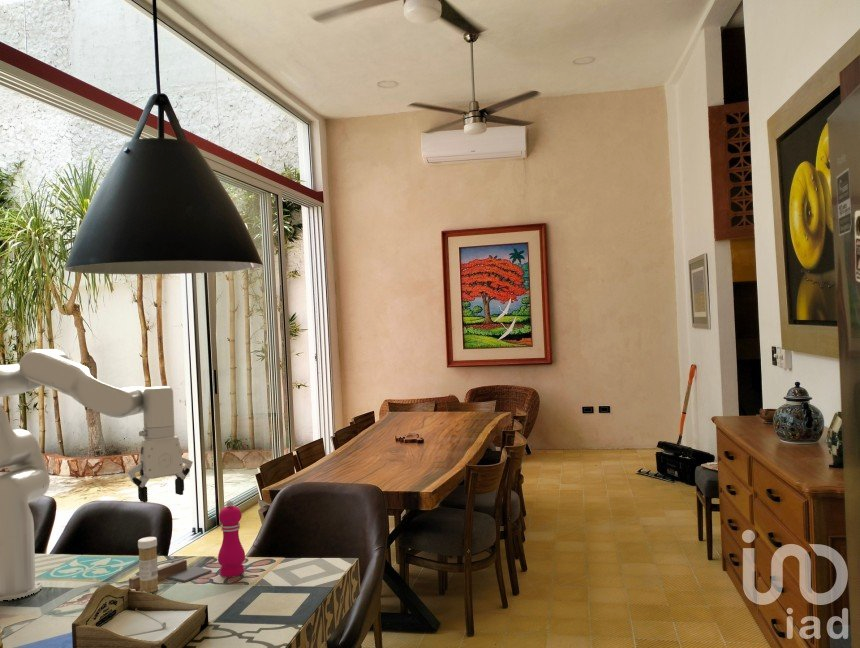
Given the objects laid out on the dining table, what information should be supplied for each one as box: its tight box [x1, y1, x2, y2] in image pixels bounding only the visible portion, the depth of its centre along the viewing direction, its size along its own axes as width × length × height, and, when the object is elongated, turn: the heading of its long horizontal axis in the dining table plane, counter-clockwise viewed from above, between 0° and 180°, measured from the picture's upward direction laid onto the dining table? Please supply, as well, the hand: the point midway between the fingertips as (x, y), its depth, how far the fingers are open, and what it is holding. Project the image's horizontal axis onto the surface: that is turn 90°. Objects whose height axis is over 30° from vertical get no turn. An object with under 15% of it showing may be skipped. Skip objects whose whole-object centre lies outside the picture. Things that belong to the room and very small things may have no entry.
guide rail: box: [128, 559, 188, 590], centre depth 186 cm, size 2×17×3 cm, turn 149°
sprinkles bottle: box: [137, 536, 159, 593], centre depth 178 cm, size 5×5×14 cm
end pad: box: [167, 566, 212, 583], centre depth 189 cm, size 7×9×1 cm
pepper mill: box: [217, 500, 246, 578], centre depth 189 cm, size 7×7×20 cm
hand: (161, 497), depth 181 cm, fingers open, 9 cm apart
